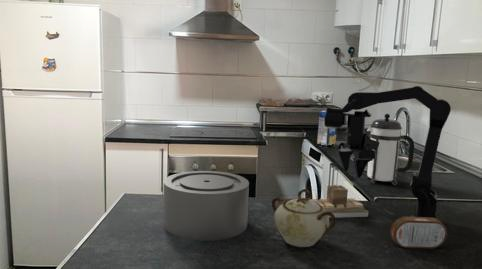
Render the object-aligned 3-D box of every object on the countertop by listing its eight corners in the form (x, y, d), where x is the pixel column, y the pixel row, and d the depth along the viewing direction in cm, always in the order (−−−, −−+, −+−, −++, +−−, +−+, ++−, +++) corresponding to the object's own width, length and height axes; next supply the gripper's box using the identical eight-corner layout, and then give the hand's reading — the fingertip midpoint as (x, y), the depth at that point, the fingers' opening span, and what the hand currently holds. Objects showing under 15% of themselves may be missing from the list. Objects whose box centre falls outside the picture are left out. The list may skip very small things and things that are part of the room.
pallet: (364, 211, 140) (364, 204, 139) (315, 212, 136) (316, 206, 136) (354, 204, 146) (354, 198, 146) (308, 205, 143) (308, 199, 143)
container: (156, 213, 133) (156, 173, 131) (230, 207, 143) (231, 169, 141) (173, 245, 111) (174, 196, 108) (260, 235, 120) (262, 190, 118)
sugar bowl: (344, 243, 117) (349, 190, 114) (319, 261, 105) (324, 203, 103) (284, 224, 128) (287, 177, 126) (255, 239, 117) (258, 186, 114)
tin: (441, 245, 118) (444, 216, 117) (447, 250, 115) (450, 220, 114) (388, 244, 118) (391, 215, 116) (392, 248, 114) (395, 219, 113)
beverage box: (316, 145, 267) (319, 111, 263) (326, 144, 274) (328, 110, 271) (326, 147, 262) (328, 112, 258) (335, 145, 270) (338, 111, 266)
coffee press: (387, 188, 174) (394, 116, 169) (356, 179, 187) (362, 112, 182) (411, 183, 184) (418, 115, 179) (380, 175, 197) (386, 111, 192)
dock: (367, 216, 139) (368, 211, 139) (313, 218, 135) (314, 212, 135) (355, 207, 148) (355, 202, 147) (304, 208, 144) (304, 203, 144)
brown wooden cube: (346, 204, 139) (348, 189, 138) (332, 204, 138) (333, 189, 137) (340, 199, 144) (341, 184, 143) (326, 199, 143) (327, 185, 142)
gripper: (392, 133, 136) (388, 180, 138) (363, 125, 154) (360, 167, 156) (361, 133, 133) (357, 181, 135) (334, 125, 151) (332, 168, 153)
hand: (352, 174), depth 145 cm, fingers open, 9 cm apart
